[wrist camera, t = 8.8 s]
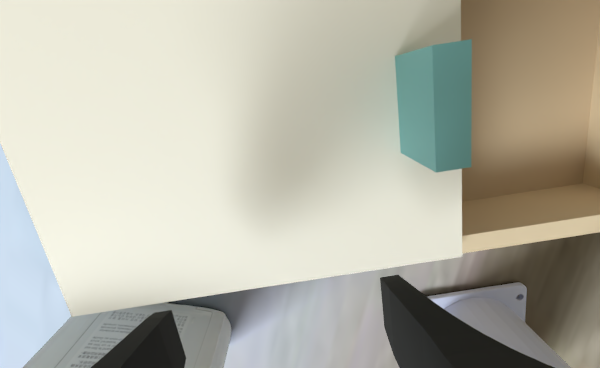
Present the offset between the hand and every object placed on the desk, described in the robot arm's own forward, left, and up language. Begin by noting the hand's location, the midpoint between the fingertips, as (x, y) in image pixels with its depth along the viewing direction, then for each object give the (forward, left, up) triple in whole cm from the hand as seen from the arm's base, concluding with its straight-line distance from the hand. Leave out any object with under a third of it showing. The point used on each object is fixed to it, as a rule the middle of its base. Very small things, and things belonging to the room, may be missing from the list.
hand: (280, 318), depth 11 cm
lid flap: (+6, +1, -5) cm, 8 cm away
